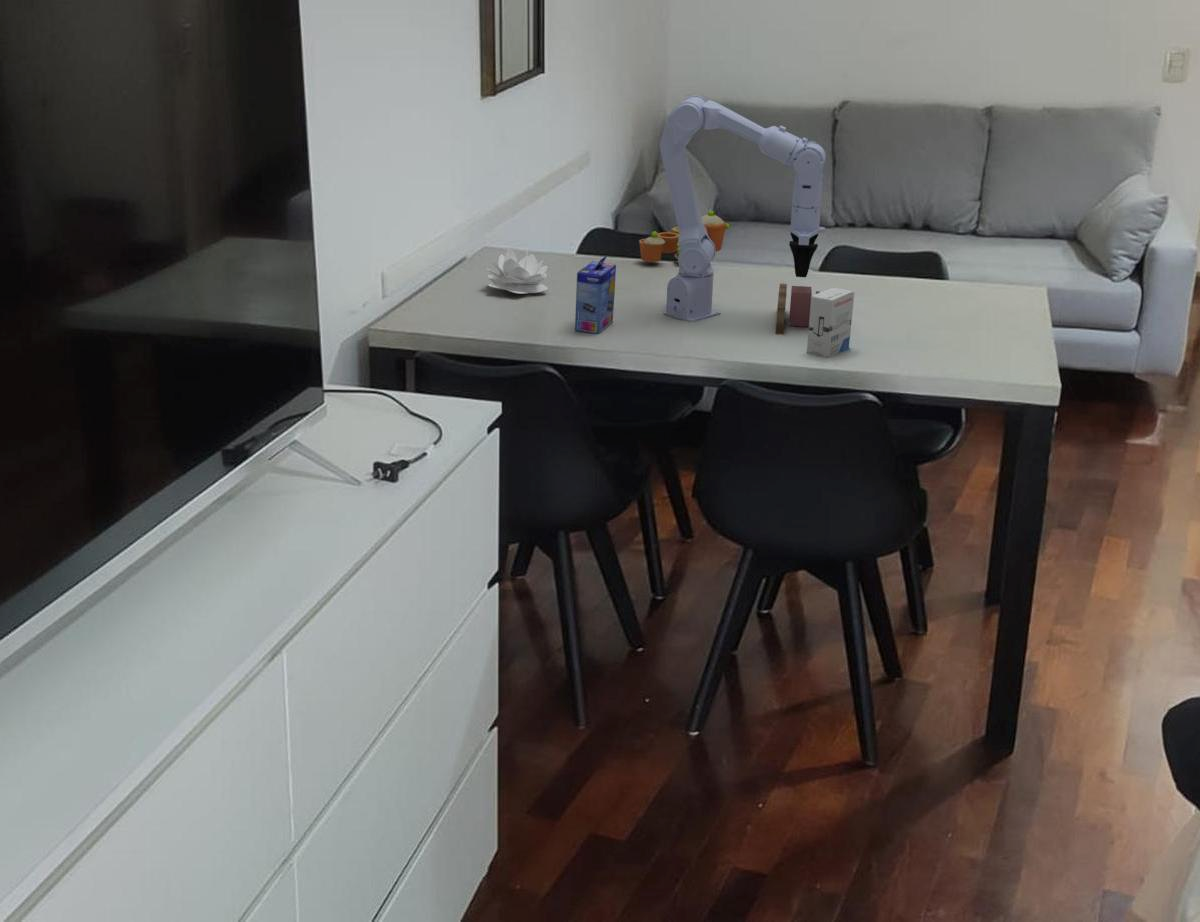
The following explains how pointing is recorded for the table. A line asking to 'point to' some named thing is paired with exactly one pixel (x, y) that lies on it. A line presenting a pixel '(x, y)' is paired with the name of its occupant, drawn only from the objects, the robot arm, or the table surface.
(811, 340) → the ink box
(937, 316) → the table surface
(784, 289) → the shelf wall
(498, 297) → the table surface
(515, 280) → the lotus flower
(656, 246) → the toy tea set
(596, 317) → the ink cartridge box
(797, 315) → the mauve rectangular block
